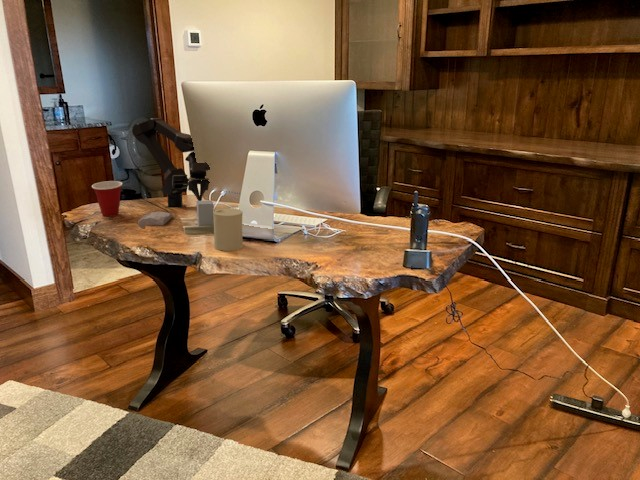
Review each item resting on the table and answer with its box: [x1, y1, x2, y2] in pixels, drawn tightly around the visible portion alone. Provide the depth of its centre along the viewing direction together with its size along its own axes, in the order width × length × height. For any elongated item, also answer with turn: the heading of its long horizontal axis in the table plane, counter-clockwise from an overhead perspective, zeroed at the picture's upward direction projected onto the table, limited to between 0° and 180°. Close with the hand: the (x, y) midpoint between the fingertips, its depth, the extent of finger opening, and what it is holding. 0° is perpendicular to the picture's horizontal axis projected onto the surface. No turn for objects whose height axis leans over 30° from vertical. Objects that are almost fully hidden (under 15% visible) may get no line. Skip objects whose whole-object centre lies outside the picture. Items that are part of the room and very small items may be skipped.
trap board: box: [180, 216, 214, 238], centre depth 184 cm, size 20×15×3 cm
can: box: [213, 207, 244, 252], centre depth 164 cm, size 9×9×12 cm
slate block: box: [196, 199, 214, 226], centre depth 180 cm, size 5×5×9 cm
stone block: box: [137, 211, 173, 229], centre depth 187 cm, size 12×5×10 cm
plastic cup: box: [91, 180, 123, 217], centre depth 194 cm, size 11×11×12 cm
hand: (200, 201), depth 190 cm, fingers closed
